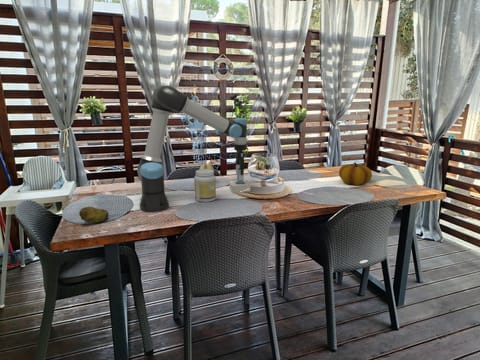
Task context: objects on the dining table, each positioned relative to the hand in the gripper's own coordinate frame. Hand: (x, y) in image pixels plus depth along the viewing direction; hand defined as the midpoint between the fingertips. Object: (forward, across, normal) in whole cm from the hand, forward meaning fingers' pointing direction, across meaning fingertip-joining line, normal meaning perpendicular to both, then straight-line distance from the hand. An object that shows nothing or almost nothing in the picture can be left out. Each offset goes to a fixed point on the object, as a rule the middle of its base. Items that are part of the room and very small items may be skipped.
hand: (239, 177), depth 206 cm
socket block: (+8, 0, 0) cm, 8 cm away
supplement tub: (+9, -16, +23) cm, 29 cm away
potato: (+9, -43, +77) cm, 88 cm away
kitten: (+9, +18, +20) cm, 28 cm away
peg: (+8, 0, 0) cm, 8 cm away
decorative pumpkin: (+8, +5, -81) cm, 82 cm away
